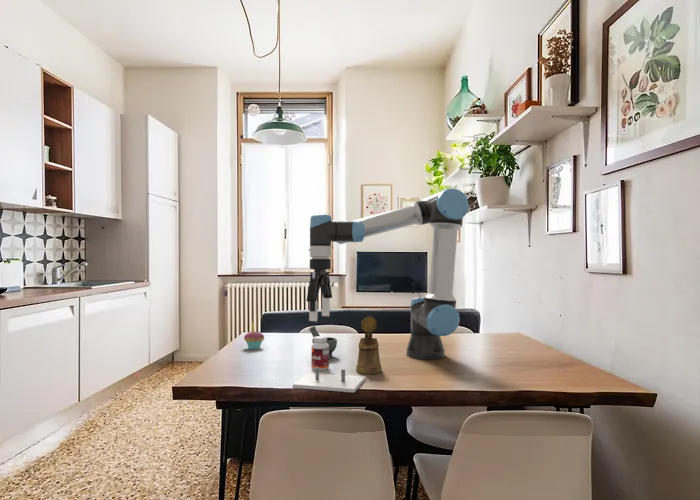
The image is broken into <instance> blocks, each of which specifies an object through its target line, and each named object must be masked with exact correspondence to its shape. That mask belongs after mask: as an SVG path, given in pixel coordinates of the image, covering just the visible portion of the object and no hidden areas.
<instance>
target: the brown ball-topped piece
mask: <svg viewBox="0 0 700 500" xmlns="http://www.w3.org/2000/svg"><path fill="white" fill-rule="evenodd" d="M360 329H361V331H362V332H363V333H364V337H360V339H359V342H358V349H359V350H358V354H357V355H358V356H357V364H356V366H355V367H356V368H355V369H356V371H355V372H356V373H359V374H362V375H377V374H381V373H382V372H383V369H382V365H381V359H380V352H379V351H380V350H379V342H378V338H376V337H375V338H373V333H375V332H376V331H377V330H378V321H377V320H376V318H374V317H373V316H372V315H368V316H366V317H364V318H363V319H362V320H361V321H360Z"/></svg>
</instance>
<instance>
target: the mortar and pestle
mask: <svg viewBox="0 0 700 500" xmlns="http://www.w3.org/2000/svg"><path fill="white" fill-rule="evenodd" d="M308 331H309V332H310V333H311V335H312V337H313V338H312V339H311V340H312V341H311V342H312V344H313V343H314V337H316V336H321V335H320V333H319V332H318V330H317V329H316V325H313V326H311V327H309V329H308ZM326 337H327V336H326ZM326 343H328V344H329V359H331V358H333V353H334V351H336V348H337V344H338V339H337V338H336V337H331V336H329V337H327V341H326Z"/></svg>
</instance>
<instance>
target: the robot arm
mask: <svg viewBox="0 0 700 500" xmlns="http://www.w3.org/2000/svg"><path fill="white" fill-rule="evenodd" d="M469 206H470V205H469V201H468V197H467V196H466V195H465V193H463V192H462V191H461V190H459V189H457V188H445V189H442V190H440V191H437V192H436V193H433V194H431V195H430V196H427V197H425V198H423V199H420V200H418V201H413V202H412V203H411V205H408V206H404V207H401V208H397V209H393V210H389V211H384V212H382V213H381V212H380V213H378V214H373V215H370V216H365V217H362V218H359V219H355V220H333V219H332V215H330V214H324V213H323V214H322V213H320V214H319V213H318V214H313V215H311V216H310V219H309V220H310V221H309V222H310V223H309V249H308V252H309V257H310V259H309V269H310V270H314V271H312V272H311V271H310V275H309V276H310V277H309V284H308V289H307V295H306V302H307V303H308V304H309V305H308V306H309V308H308V310H309V311H308V312H309V313H308V317H309V318H308V321H309V322H318V316H319V314H318V310H319V307H318V306H319V305H318V304H319V303H318V301H317V300H318V297H319V293H320V291H321V294H322V298H321V316H322V317H330V315H331V314H330V312H331V310H330V309H331V301H330V299H332V298H333V295H332V294H333V293H332V292H333V291H332V286H331V281H330V280H331V279H330V271H328V270H331V269H332V261H331V257H332V242H334V243H337V244H339V245H343V244H347V243H362V242H363V241H364V240H365V238H368V237H371V236H376V235H379V234H383V233H386V232H390V231H395V230H398V229H401V228H406V227H410V226H413V225H417V226H422V225H427V224H430V226H431V227H432V229H433V239H432V253H431V263H430V264H431V265H430V275H429V276H430V277H429V287H428V288H429V289H428V292H427V294H426V295H425V296H424V297H414V298H411V300H410V307H409V308H410V337H409V340H408V342H407V343H408V344H407V346H406V356H407V357H410V358H412V359H420V360H436V359H437V360H439V359H441V358H445V356H446V355H445V353H446V351H445V347H444V344H443V341H442V337H447V336H449V335H452V334H453V333H454V332H455V331H456V330H457V329H458V327H459V324H460V313H459V312H458V310H457V299H456V298H455V296H454V295H453V291H454V290H453V289H454V279H455V278H454V277H455V267H456V265H455V264H456V252H457V241H458V239H457V238H458V232H459V230H460V229H461V228H462V227H463V219H464V217H465V216H466V215H467V213H468V210H469Z"/></svg>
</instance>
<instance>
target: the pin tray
mask: <svg viewBox="0 0 700 500" xmlns="http://www.w3.org/2000/svg"><path fill="white" fill-rule="evenodd" d="M340 371H341V372H340V374H336V373H335V374H334V373H320V370H319V368H315V370H314V372H308V373H306V374H305V375H303V376H302V377H301V378H299V379H298V380H297V381H295V382H294V383H293V384H292V388H295V389H305V390H316V391H317V390H318V391H327V392H328V391H330V392H331V391H332V392H343V393H352V394H353V393H355V392H356V391H357V390H358V389H359V388H360V386H362V384H363V383H364V382H365V381H366V376H364V375H360V376H359V375H348V374H346V369H344V368H343V369H341V370H340ZM358 387H359V388H358Z"/></svg>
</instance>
